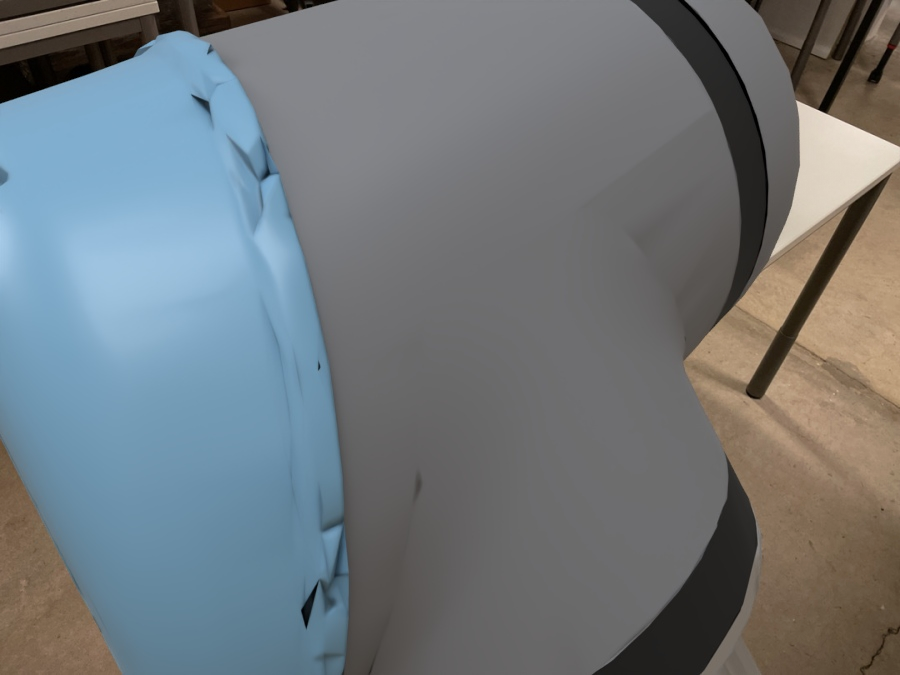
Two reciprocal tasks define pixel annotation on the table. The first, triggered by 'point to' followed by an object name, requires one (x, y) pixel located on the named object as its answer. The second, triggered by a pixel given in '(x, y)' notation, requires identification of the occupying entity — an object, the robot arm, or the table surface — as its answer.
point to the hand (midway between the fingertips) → (455, 275)
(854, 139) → the table surface
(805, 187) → the table surface
